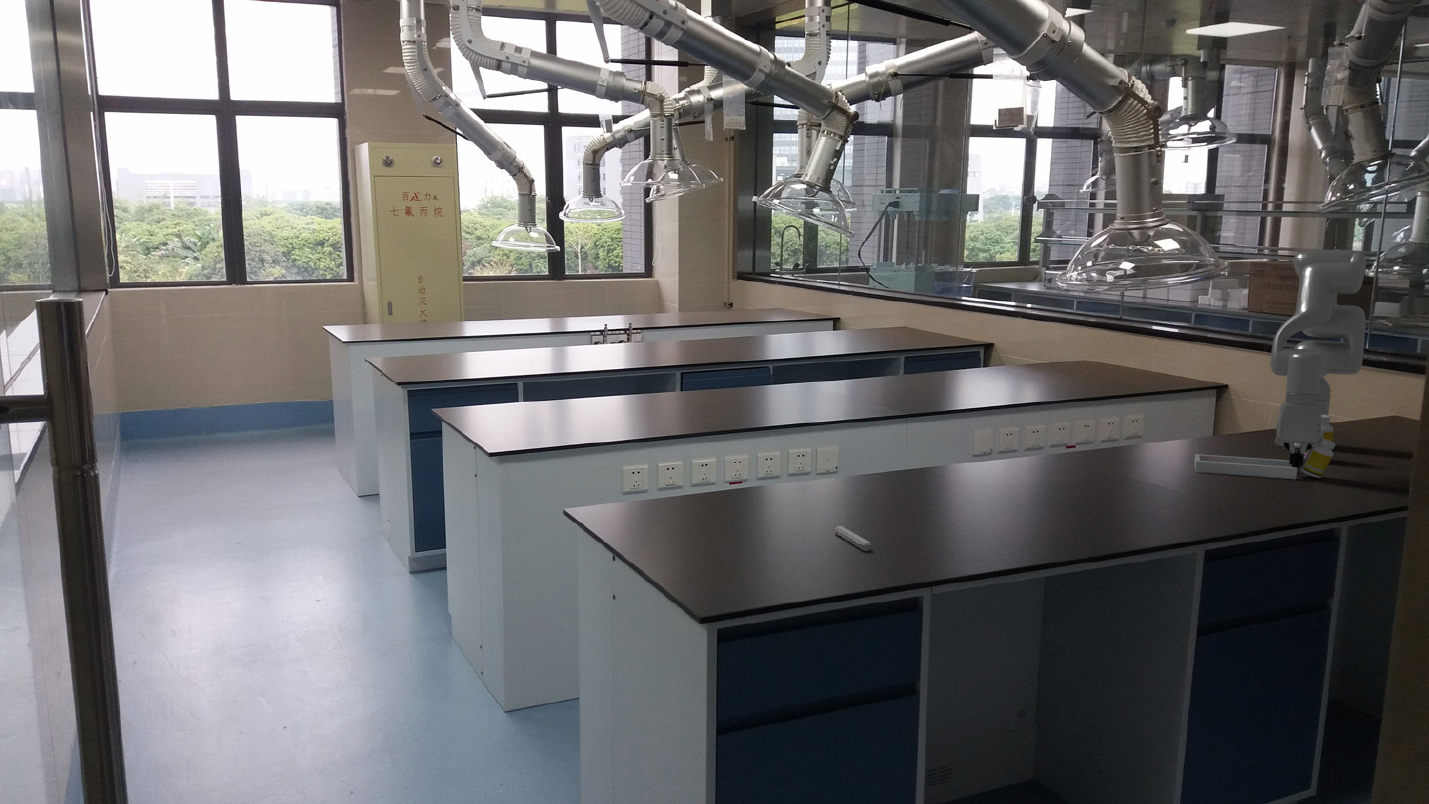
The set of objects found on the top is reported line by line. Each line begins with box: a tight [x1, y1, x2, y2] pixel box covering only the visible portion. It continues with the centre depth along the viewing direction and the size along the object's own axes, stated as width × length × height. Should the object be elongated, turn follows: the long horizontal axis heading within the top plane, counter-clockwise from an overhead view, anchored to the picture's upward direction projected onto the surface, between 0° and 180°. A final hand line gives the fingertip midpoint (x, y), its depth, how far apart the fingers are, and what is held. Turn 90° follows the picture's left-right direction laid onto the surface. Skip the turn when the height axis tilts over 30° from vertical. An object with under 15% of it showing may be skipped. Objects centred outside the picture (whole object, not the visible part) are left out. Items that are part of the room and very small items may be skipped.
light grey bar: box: [834, 525, 872, 546], centre depth 225 cm, size 3×2×16 cm
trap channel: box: [1194, 453, 1298, 480], centre depth 278 cm, size 9×24×3 cm, turn 67°
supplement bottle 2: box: [1299, 438, 1336, 479], centre depth 270 cm, size 5×5×10 cm
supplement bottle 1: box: [1303, 415, 1334, 460], centre depth 288 cm, size 7×7×13 cm
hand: (1295, 467), depth 272 cm, fingers closed
